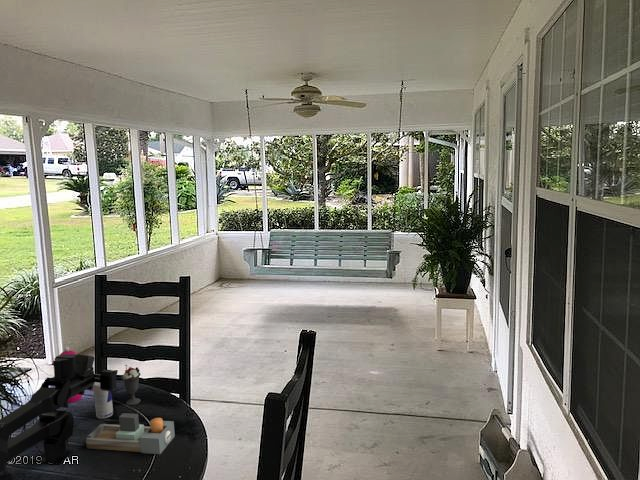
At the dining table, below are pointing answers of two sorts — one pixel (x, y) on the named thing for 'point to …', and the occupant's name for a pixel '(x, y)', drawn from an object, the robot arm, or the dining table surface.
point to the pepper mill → (77, 397)
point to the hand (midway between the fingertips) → (105, 369)
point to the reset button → (156, 425)
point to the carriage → (129, 427)
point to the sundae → (131, 383)
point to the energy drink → (102, 402)
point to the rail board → (111, 439)
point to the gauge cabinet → (157, 439)
